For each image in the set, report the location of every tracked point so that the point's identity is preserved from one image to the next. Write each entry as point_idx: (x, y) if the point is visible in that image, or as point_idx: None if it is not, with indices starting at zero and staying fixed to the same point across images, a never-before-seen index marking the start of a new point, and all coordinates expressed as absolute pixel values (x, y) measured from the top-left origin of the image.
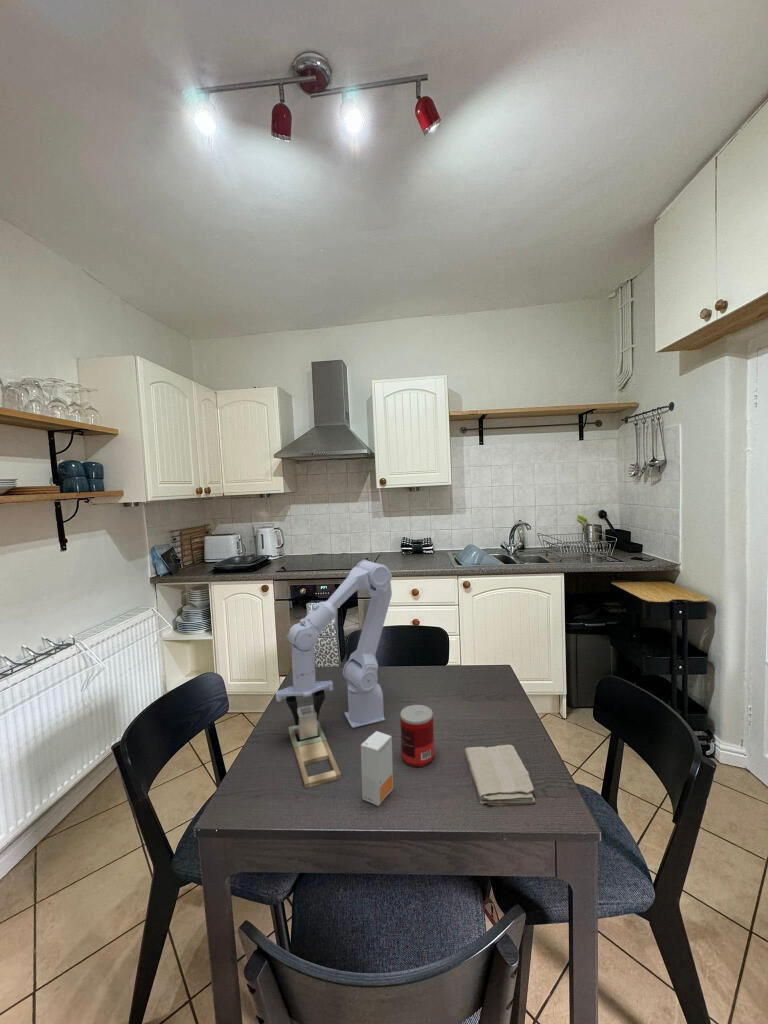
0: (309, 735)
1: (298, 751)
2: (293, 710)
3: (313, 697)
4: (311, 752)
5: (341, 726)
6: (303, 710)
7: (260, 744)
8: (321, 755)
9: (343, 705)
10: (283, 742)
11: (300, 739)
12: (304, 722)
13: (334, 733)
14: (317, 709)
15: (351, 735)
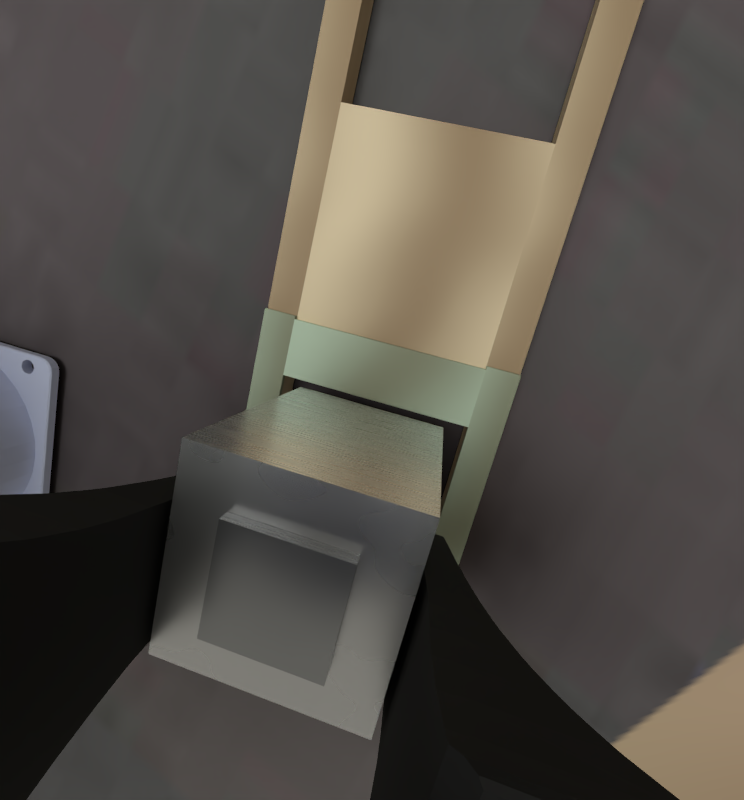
0: (361, 408)
1: (516, 309)
2: (504, 668)
3: (39, 748)
4: (435, 224)
5: (113, 435)
6: (312, 611)
7: (678, 631)
8: (387, 130)
9: None
10: (524, 537)
11: (439, 426)
12: (376, 460)
13: (182, 392)
14: (137, 500)
15: (98, 293)
